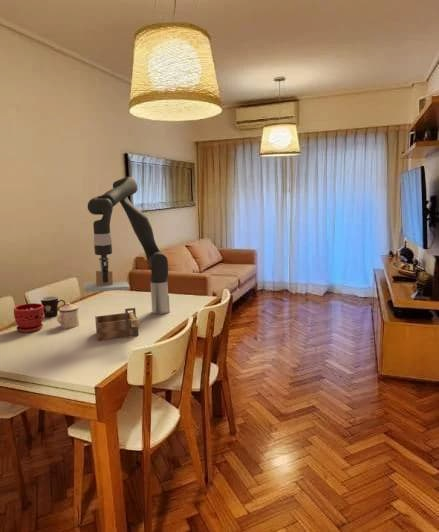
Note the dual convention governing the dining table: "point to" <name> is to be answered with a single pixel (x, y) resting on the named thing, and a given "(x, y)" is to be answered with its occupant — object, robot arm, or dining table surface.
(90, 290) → the lid
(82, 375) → the dining table surface
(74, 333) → the dining table surface
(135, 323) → the key
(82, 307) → the dining table surface
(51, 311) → the coffee mug
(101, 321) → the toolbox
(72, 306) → the teacup with lid
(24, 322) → the plant pot
